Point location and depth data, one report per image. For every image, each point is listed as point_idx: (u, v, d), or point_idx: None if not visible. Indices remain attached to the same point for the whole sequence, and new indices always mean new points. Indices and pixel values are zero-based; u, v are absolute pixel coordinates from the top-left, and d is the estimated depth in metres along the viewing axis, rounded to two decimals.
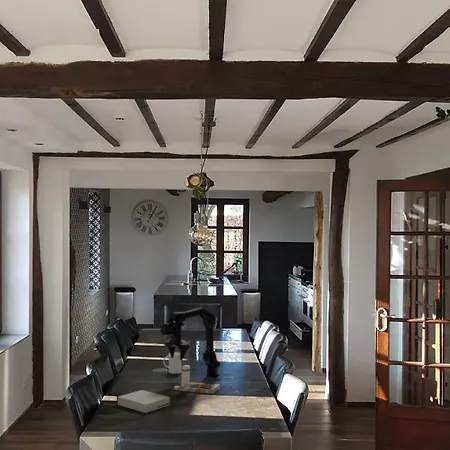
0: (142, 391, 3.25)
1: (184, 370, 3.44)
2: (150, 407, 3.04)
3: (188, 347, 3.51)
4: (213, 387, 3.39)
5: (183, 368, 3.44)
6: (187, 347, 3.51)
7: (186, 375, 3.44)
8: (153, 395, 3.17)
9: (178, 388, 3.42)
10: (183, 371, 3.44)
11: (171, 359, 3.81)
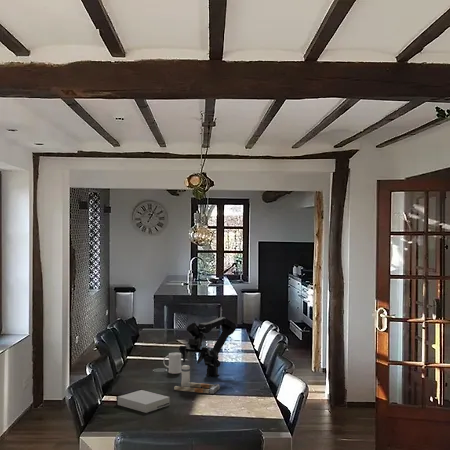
0: (142, 391, 3.25)
1: (184, 370, 3.44)
2: (151, 407, 3.04)
3: (209, 353, 3.57)
4: (213, 387, 3.39)
5: (183, 368, 3.44)
6: (209, 352, 3.57)
7: (186, 375, 3.44)
8: (153, 395, 3.17)
9: (178, 388, 3.42)
10: (183, 371, 3.44)
11: (171, 359, 3.81)
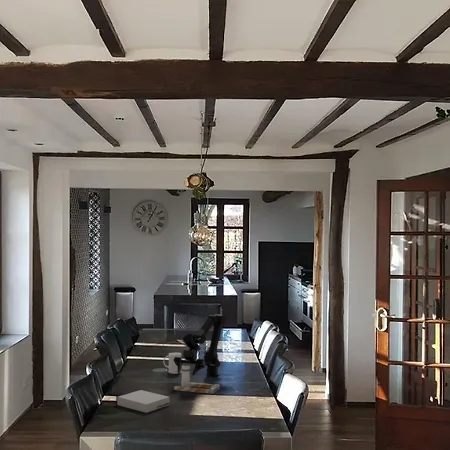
0: (141, 391, 3.25)
1: (184, 370, 3.44)
2: (151, 407, 3.04)
3: (204, 365, 3.50)
4: (213, 387, 3.39)
5: (183, 368, 3.44)
6: (204, 364, 3.49)
7: (186, 375, 3.44)
8: (153, 395, 3.17)
9: (178, 388, 3.42)
10: (183, 371, 3.44)
11: (171, 359, 3.81)
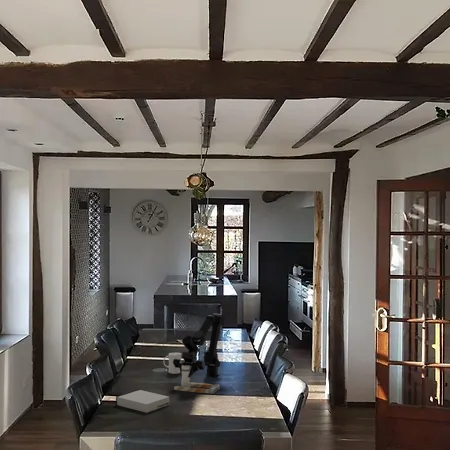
0: (141, 391, 3.25)
1: (184, 370, 3.44)
2: (151, 407, 3.04)
3: (204, 367, 3.49)
4: (213, 387, 3.39)
5: (183, 368, 3.44)
6: (203, 366, 3.48)
7: (186, 375, 3.44)
8: (153, 395, 3.17)
9: (178, 388, 3.42)
10: (183, 371, 3.44)
11: (171, 359, 3.81)
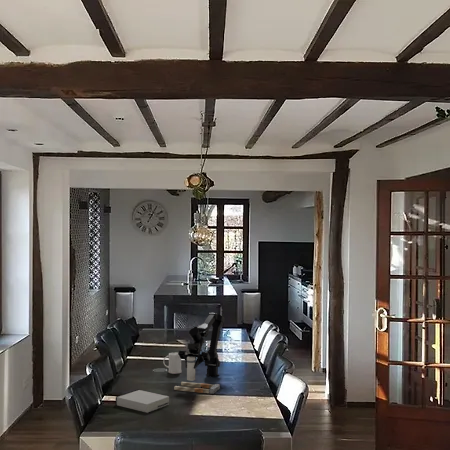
0: (140, 391, 3.25)
1: (189, 361, 3.43)
2: (151, 407, 3.04)
3: (209, 358, 3.48)
4: (213, 387, 3.39)
5: (188, 359, 3.43)
6: (209, 357, 3.47)
7: (191, 366, 3.43)
8: (152, 395, 3.17)
9: (178, 388, 3.42)
10: (188, 362, 3.43)
11: (171, 359, 3.81)
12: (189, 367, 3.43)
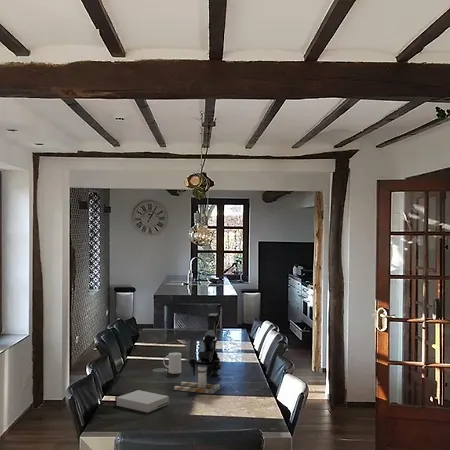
0: (139, 391, 3.25)
1: (201, 371, 3.41)
2: (152, 406, 3.04)
3: (220, 367, 3.46)
4: (213, 387, 3.39)
5: (200, 369, 3.41)
6: (220, 366, 3.45)
7: (203, 376, 3.41)
8: (152, 395, 3.17)
9: (178, 388, 3.42)
10: (200, 372, 3.41)
11: (171, 359, 3.81)
12: (200, 377, 3.41)
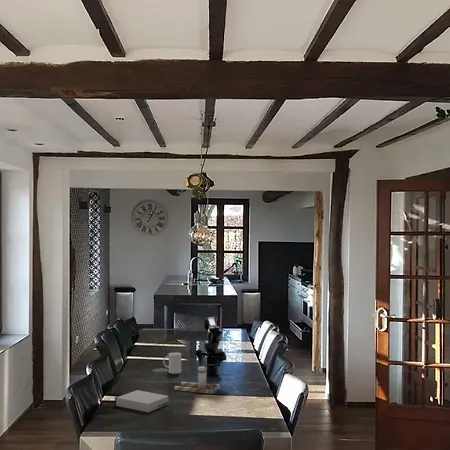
0: (138, 391, 3.25)
1: (201, 371, 3.41)
2: (152, 406, 3.05)
3: (226, 357, 3.54)
4: (213, 387, 3.39)
5: (200, 369, 3.41)
6: (225, 357, 3.54)
7: (203, 376, 3.41)
8: (151, 395, 3.18)
9: (178, 388, 3.42)
10: (200, 372, 3.41)
11: (171, 359, 3.81)
12: (200, 377, 3.41)
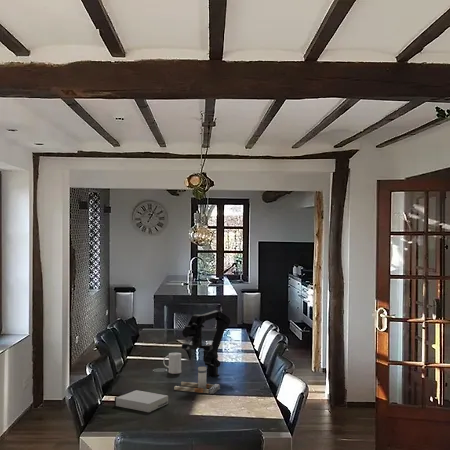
0: (137, 391, 3.25)
1: (201, 371, 3.41)
2: (153, 406, 3.05)
3: (212, 347, 3.64)
4: (213, 387, 3.39)
5: (200, 369, 3.41)
6: (211, 347, 3.63)
7: (203, 376, 3.41)
8: (151, 395, 3.18)
9: (178, 388, 3.42)
10: (200, 372, 3.41)
11: (171, 359, 3.81)
12: (200, 377, 3.41)
